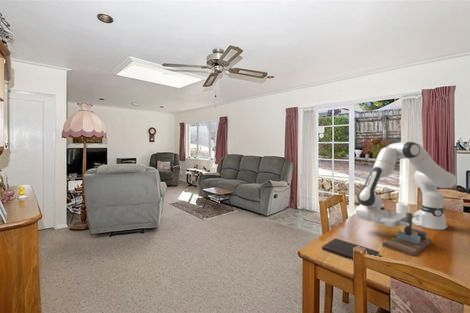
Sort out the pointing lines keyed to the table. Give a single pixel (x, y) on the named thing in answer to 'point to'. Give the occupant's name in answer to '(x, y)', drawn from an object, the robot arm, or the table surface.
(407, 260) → the table surface
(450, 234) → the table surface
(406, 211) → the white cup
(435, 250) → the table surface
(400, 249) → the press board
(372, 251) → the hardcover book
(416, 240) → the jaw carriage
